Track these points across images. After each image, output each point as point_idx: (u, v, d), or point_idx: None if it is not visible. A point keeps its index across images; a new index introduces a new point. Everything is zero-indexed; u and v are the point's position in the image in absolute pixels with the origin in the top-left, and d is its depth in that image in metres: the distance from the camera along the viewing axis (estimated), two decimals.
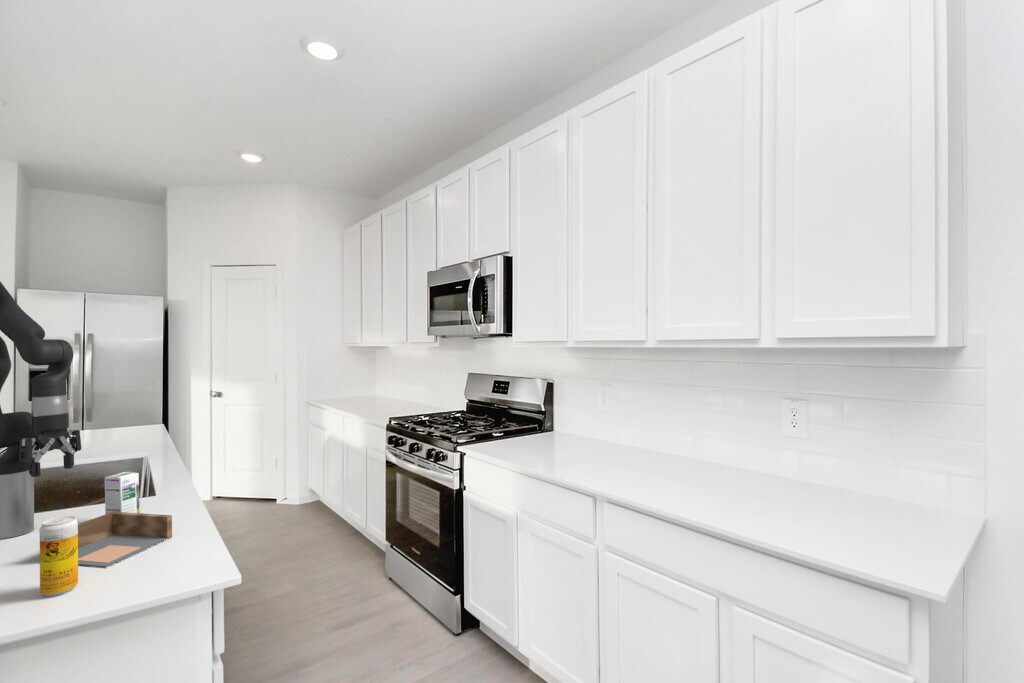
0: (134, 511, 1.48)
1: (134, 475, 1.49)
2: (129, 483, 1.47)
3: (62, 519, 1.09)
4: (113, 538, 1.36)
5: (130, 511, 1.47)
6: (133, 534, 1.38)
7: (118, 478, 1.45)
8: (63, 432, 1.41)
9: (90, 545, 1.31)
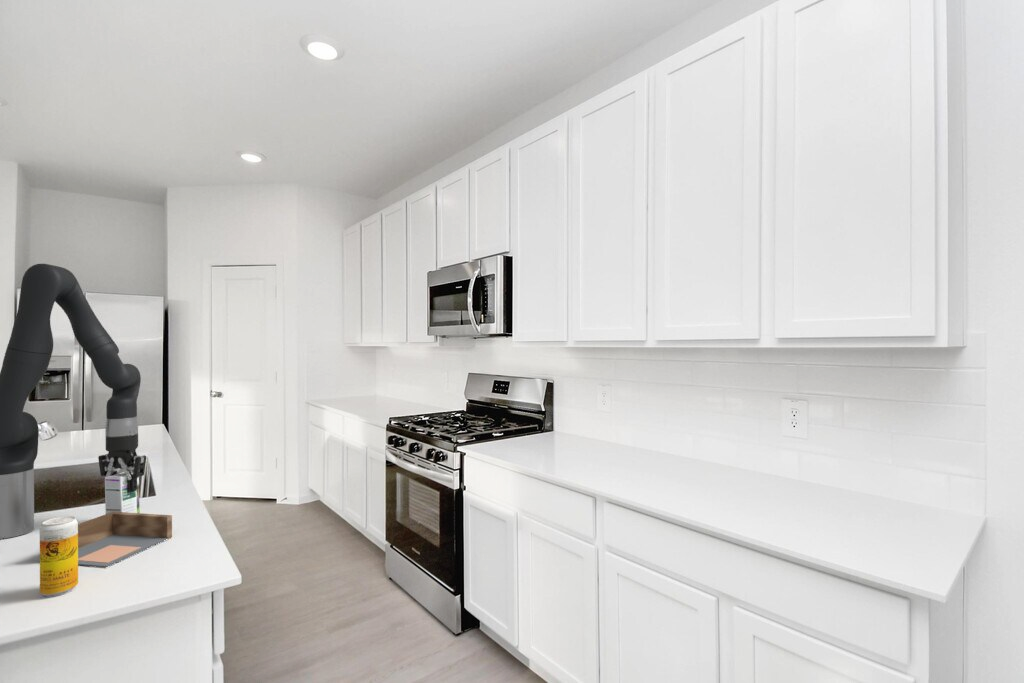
0: (134, 511, 1.48)
1: None
2: None
3: (62, 519, 1.09)
4: (113, 538, 1.36)
5: (130, 510, 1.47)
6: (133, 534, 1.38)
7: (118, 478, 1.45)
8: None
9: (90, 545, 1.31)
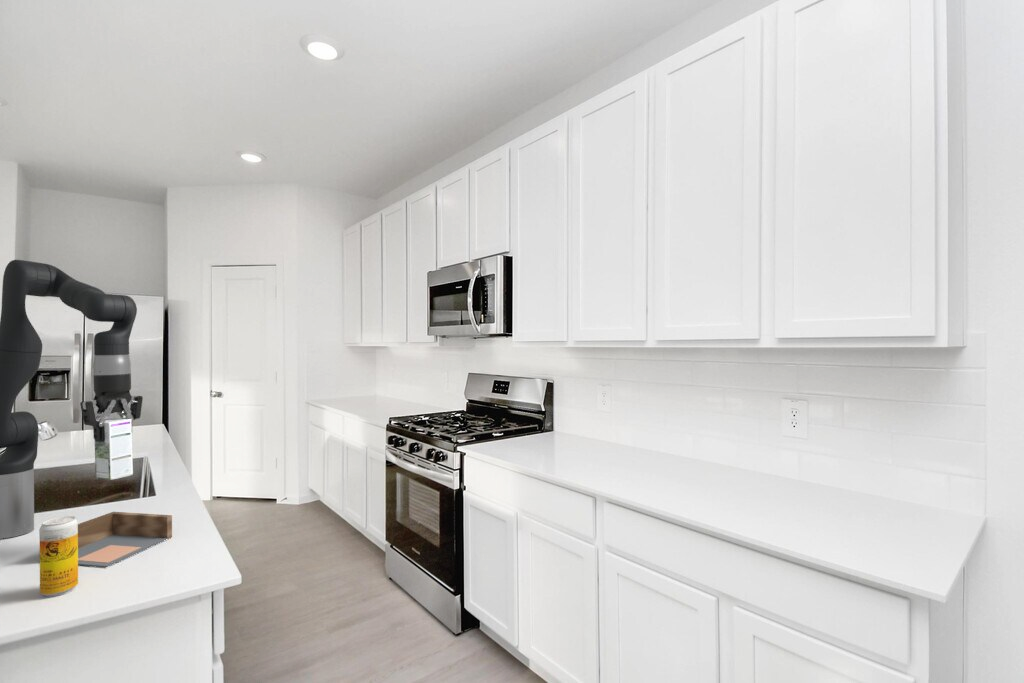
0: None
1: None
2: None
3: (62, 519, 1.09)
4: (113, 538, 1.36)
5: None
6: (133, 534, 1.38)
7: (128, 420, 1.31)
8: None
9: (90, 545, 1.31)
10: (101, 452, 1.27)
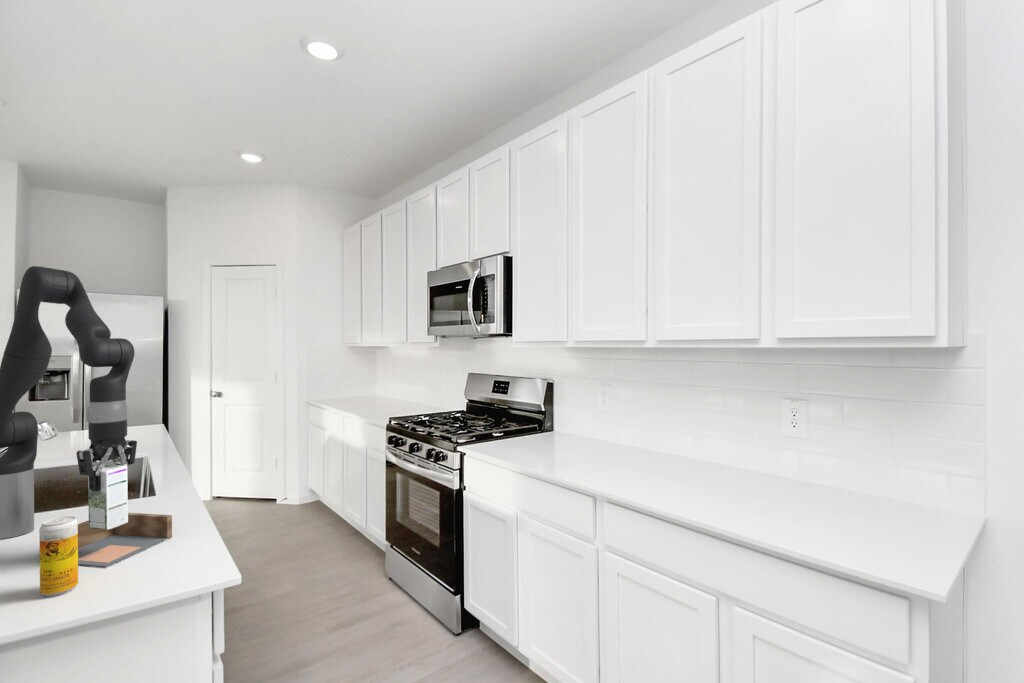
0: None
1: None
2: None
3: (62, 519, 1.09)
4: (113, 538, 1.36)
5: None
6: (133, 534, 1.38)
7: (124, 467, 1.28)
8: None
9: (90, 545, 1.31)
10: (96, 502, 1.23)
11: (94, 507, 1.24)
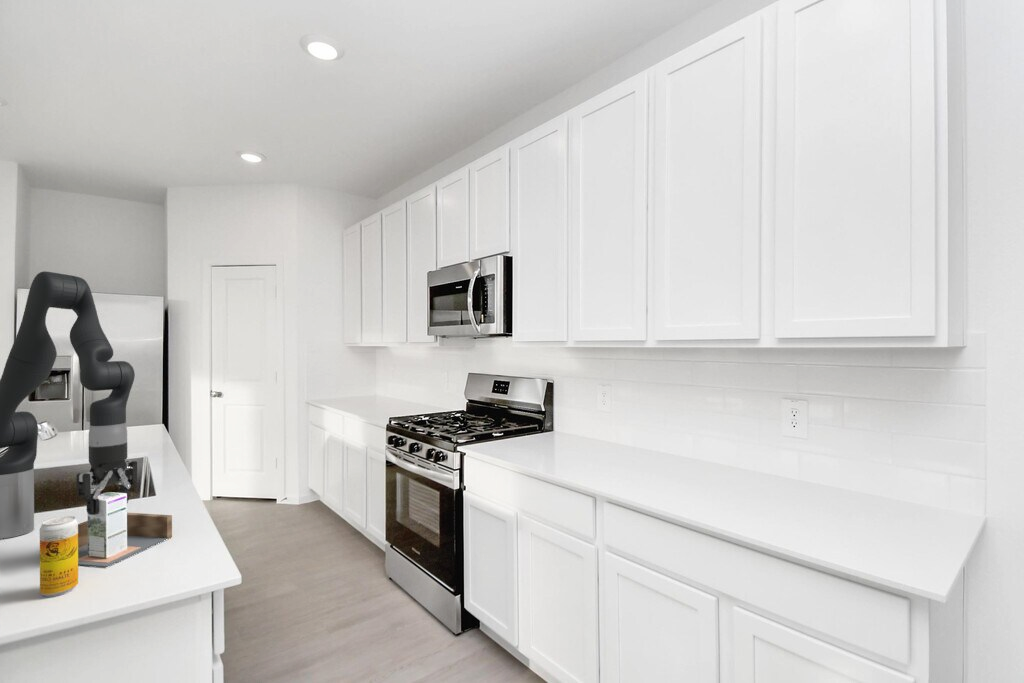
0: None
1: None
2: None
3: (62, 519, 1.09)
4: None
5: None
6: (133, 534, 1.38)
7: (124, 495, 1.27)
8: None
9: None
10: (95, 530, 1.23)
11: (93, 535, 1.23)
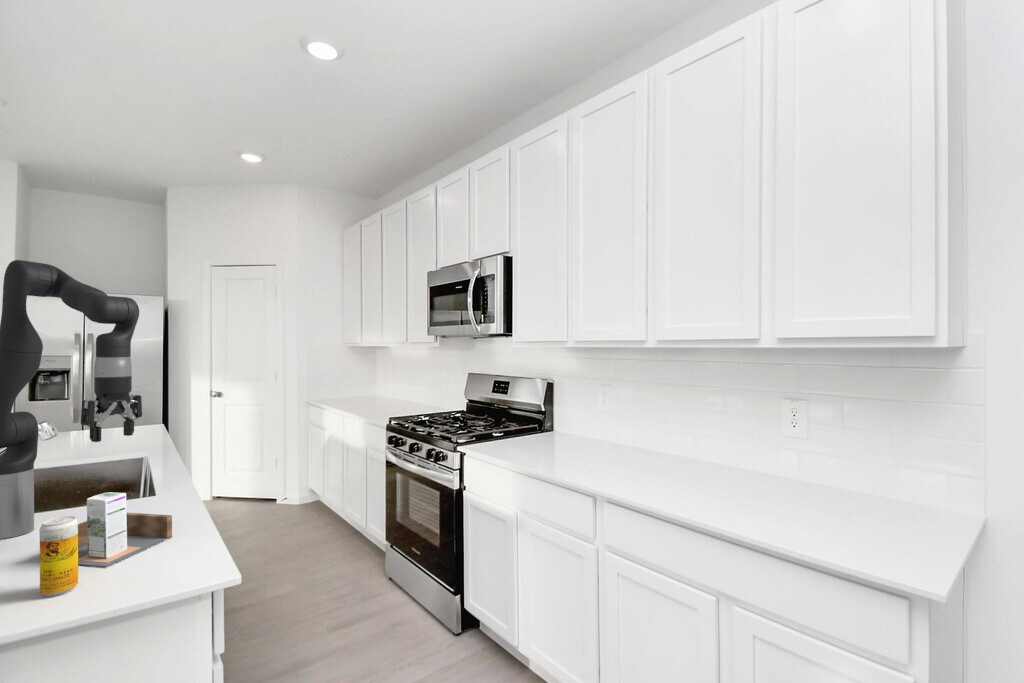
0: None
1: None
2: None
3: (62, 519, 1.09)
4: None
5: None
6: (133, 534, 1.38)
7: (123, 495, 1.27)
8: None
9: None
10: (95, 530, 1.23)
11: (93, 536, 1.23)
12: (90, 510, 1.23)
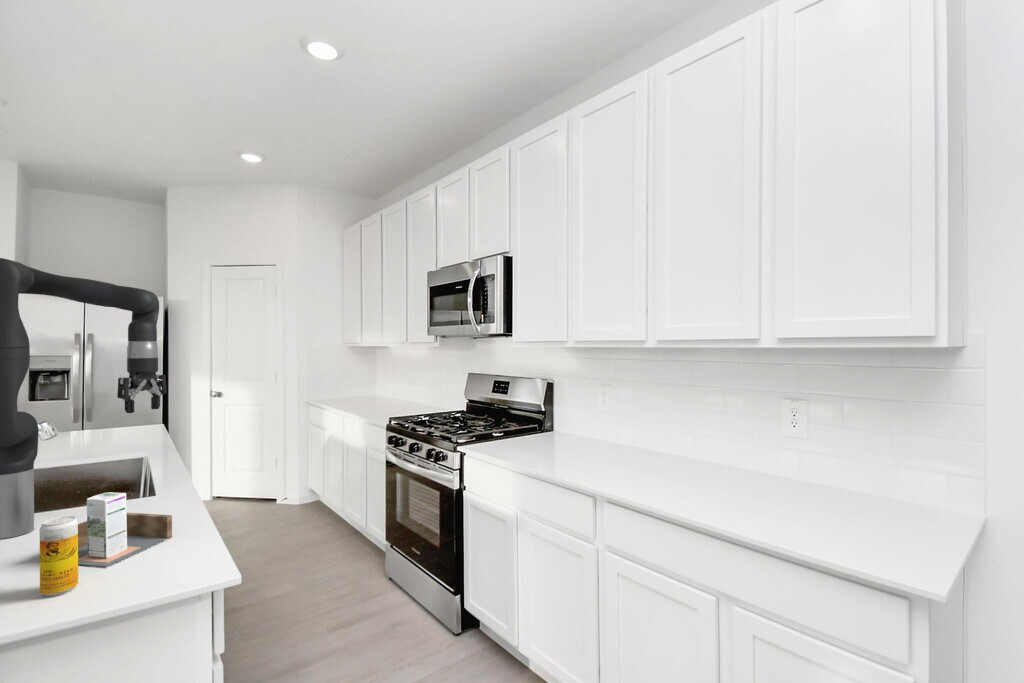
0: None
1: None
2: None
3: (62, 519, 1.09)
4: None
5: None
6: (133, 534, 1.38)
7: (123, 495, 1.27)
8: None
9: None
10: (95, 530, 1.23)
11: (93, 536, 1.23)
12: (90, 510, 1.23)
